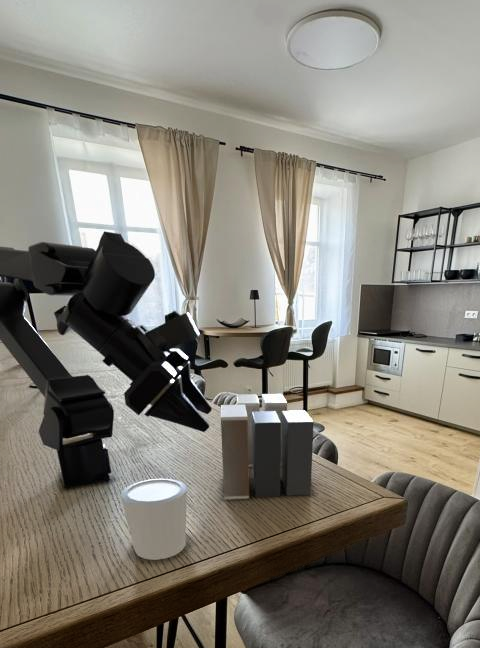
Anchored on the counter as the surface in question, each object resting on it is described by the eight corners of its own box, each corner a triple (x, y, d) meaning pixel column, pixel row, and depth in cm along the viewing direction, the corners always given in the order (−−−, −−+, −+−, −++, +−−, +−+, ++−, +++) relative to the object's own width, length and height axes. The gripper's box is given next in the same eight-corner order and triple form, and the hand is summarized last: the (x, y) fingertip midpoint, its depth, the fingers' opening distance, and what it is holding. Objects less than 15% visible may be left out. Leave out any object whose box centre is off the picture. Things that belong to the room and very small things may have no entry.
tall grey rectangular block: (255, 497, 59) (255, 423, 55) (252, 479, 65) (251, 411, 61) (280, 496, 59) (280, 422, 55) (275, 478, 65) (275, 411, 61)
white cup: (202, 536, 49) (198, 482, 46) (169, 568, 43) (163, 508, 40) (153, 526, 51) (146, 474, 48) (115, 555, 45) (106, 498, 42)
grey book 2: (287, 495, 59) (288, 422, 55) (281, 478, 65) (282, 410, 61) (310, 494, 60) (313, 421, 56) (302, 477, 66) (305, 410, 62)
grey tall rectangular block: (239, 467, 70) (237, 403, 66) (238, 453, 76) (236, 394, 72) (260, 466, 70) (259, 403, 66) (256, 452, 76) (256, 394, 72)
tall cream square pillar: (224, 499, 58) (220, 417, 54) (224, 480, 64) (220, 404, 60) (249, 498, 58) (247, 416, 54) (246, 479, 65) (244, 404, 60)
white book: (265, 466, 70) (265, 402, 66) (262, 452, 77) (261, 394, 73) (286, 465, 71) (287, 402, 67) (280, 452, 77) (281, 393, 73)
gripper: (142, 284, 42) (253, 391, 47) (167, 289, 59) (246, 368, 64) (74, 364, 44) (187, 458, 49) (117, 347, 61) (198, 418, 66)
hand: (208, 419), depth 57 cm, fingers open, 9 cm apart
